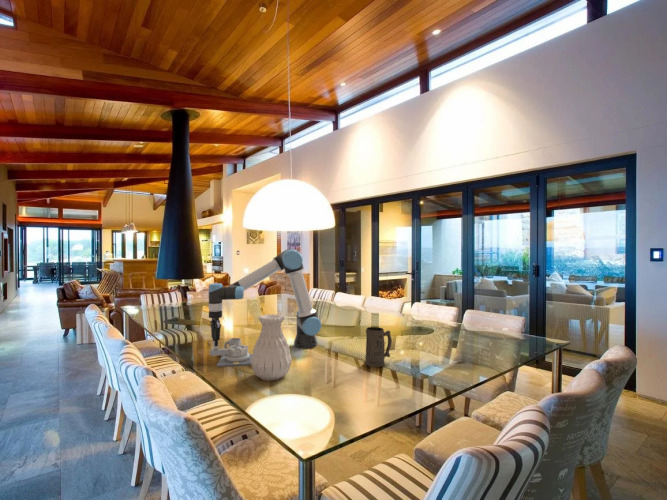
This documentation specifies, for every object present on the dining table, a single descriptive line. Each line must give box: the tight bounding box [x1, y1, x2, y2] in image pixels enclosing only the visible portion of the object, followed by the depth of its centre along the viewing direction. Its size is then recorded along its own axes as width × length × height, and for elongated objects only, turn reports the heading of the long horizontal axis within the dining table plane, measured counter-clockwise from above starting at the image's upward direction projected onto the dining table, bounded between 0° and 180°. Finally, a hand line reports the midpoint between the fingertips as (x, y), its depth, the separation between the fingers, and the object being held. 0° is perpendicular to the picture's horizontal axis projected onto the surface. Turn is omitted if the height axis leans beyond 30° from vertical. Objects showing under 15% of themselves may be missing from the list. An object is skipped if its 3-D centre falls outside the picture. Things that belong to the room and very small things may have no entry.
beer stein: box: [364, 326, 393, 368], centre depth 199 cm, size 15×11×20 cm
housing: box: [216, 347, 253, 368], centre depth 203 cm, size 20×18×8 cm
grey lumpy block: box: [209, 344, 249, 357], centre depth 202 cm, size 20×11×4 cm, turn 98°
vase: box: [250, 314, 293, 382], centre depth 178 cm, size 20×20×30 cm
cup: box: [223, 337, 242, 349], centre depth 216 cm, size 7×10×9 cm
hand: (215, 351), depth 206 cm, fingers closed
